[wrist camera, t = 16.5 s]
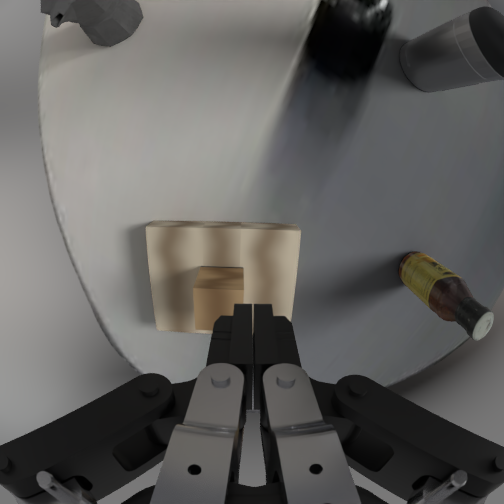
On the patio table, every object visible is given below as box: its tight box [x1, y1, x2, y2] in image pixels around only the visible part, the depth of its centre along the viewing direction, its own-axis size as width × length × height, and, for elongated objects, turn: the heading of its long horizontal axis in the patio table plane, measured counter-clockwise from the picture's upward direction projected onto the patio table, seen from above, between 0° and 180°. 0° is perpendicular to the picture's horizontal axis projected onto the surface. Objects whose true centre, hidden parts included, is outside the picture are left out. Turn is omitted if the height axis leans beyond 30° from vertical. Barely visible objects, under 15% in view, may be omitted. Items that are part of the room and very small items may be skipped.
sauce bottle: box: [399, 251, 494, 340], centre depth 32 cm, size 7×6×20 cm
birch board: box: [146, 221, 301, 334], centre depth 39 cm, size 20×16×4 cm
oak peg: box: [193, 266, 244, 331], centre depth 36 cm, size 6×6×10 cm
